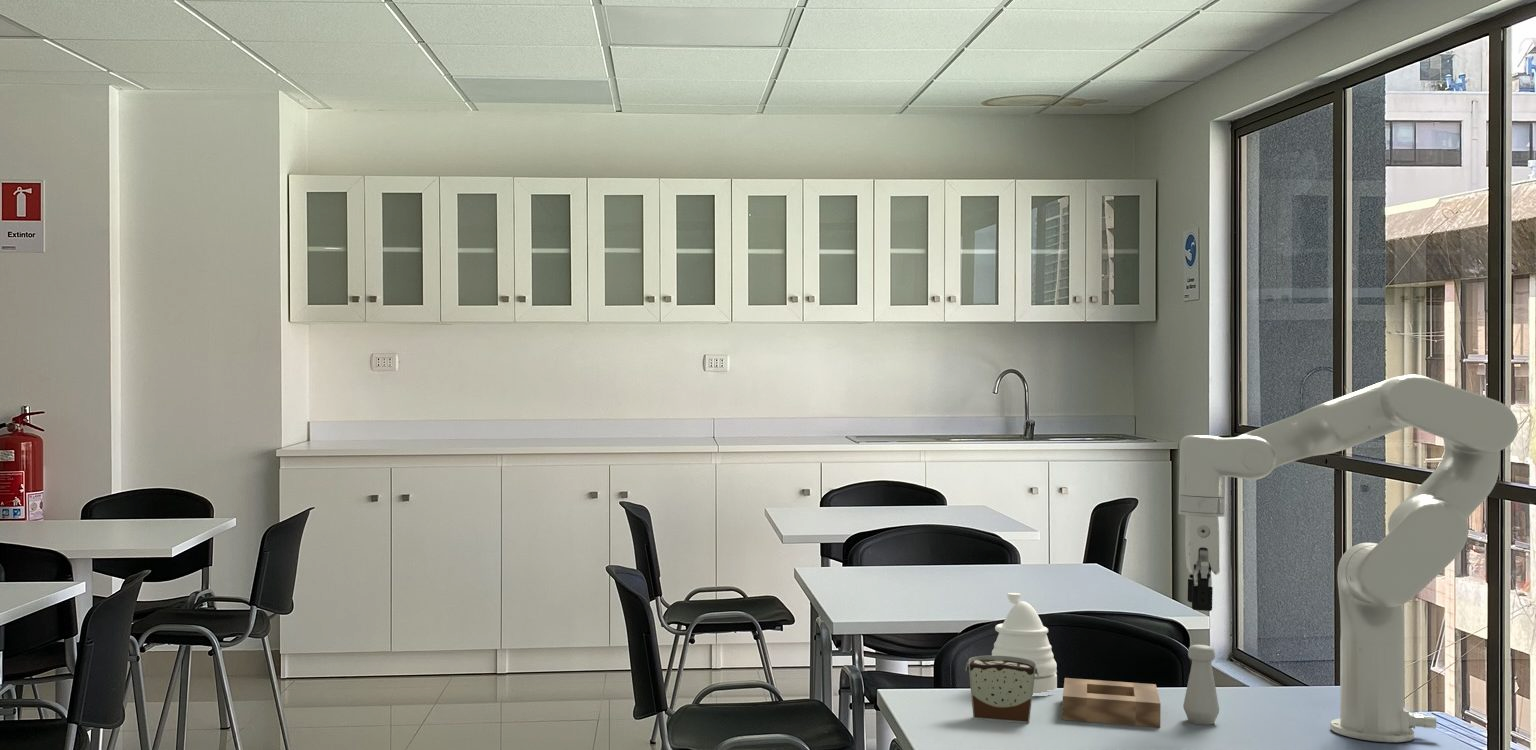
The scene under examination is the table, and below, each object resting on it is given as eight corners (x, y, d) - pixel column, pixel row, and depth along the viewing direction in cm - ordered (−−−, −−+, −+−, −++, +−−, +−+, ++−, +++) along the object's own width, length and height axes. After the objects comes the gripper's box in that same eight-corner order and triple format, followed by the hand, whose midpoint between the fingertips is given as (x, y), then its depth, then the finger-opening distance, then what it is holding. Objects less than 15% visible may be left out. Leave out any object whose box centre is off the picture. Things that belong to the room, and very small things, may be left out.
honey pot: (975, 689, 232) (976, 594, 233) (1008, 679, 242) (1009, 588, 243) (1037, 700, 224) (1038, 601, 225) (1068, 689, 234) (1069, 595, 235)
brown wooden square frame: (1155, 706, 221) (1155, 684, 221) (1160, 727, 205) (1160, 703, 205) (1064, 699, 225) (1064, 677, 225) (1062, 719, 209) (1062, 695, 209)
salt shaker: (1221, 727, 206) (1221, 649, 207) (1185, 724, 207) (1186, 647, 208) (1215, 719, 212) (1216, 643, 212) (1181, 717, 213) (1181, 641, 214)
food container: (1040, 716, 212) (1040, 657, 212) (1038, 724, 206) (1038, 664, 206) (968, 710, 215) (969, 652, 215) (964, 718, 209) (965, 659, 210)
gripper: (1230, 510, 202) (1227, 615, 201) (1219, 505, 219) (1217, 601, 218) (1182, 508, 204) (1180, 611, 203) (1175, 502, 220) (1173, 598, 220)
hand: (1199, 606), depth 211 cm, fingers open, 9 cm apart
